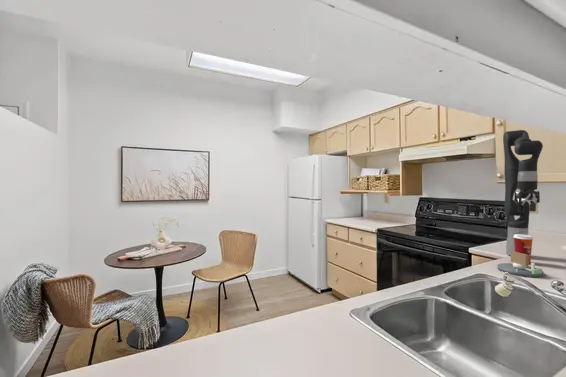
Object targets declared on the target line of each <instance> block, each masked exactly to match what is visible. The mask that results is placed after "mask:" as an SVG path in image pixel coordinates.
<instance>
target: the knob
mask: <svg viewBox="0 0 566 377" xmlns="http://www.w3.org/2000/svg"><path fill="white" fill-rule="evenodd" d="M510 263H512V264H513V267H514V268H517V269H525V270H529V271H532V269H535V268H536V267H535V266H536V263H535V262H530V264H529V255H526V254H522V253H518V252H511V256H510ZM526 266H530V267H531V269H528V268H526Z"/></svg>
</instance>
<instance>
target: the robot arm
mask: <svg viewBox="0 0 566 377" xmlns="http://www.w3.org/2000/svg"><path fill="white" fill-rule="evenodd" d="M502 141H503V142H502V143H503V152H504V184H505V186H504V187H505V188H504V189H505V193H504V213H505V215H507V216H510V217H511V216H512V217H513V216H514V217H515V216H516V217H518V218H516V219H514V220H510V221H508V222H507V238H506V245H505V246H506V247H505V248H506V253H507V254H508V255H507V254H506V255H507V256H509V255H510V256H509V257H511V252H515V246H514V237H513V236H514V235H515V234H524V235H529V224H530V213H531V212H536V210H537V204H538V203H539V204H540V202H541V201H540V200H541V199H540V198H541V197H540V191H537V189H538V182H539V181H538V162H539V157H540V155H541V153H542V150H543V147H544V145H543V143H542V142H541V141H540V140H533V139H530V136H529V133H528V132H527V130H524V129H517V130H510V131H505V132H504V133H503V138H502ZM512 147H514V148H513V149H512ZM513 150H514V152H513ZM514 153H515V154H516V155H518V156H530V155H531V156H530V158H525V159H522V160H520V159H519V158H518V157H517V156H516V155H515V154H514ZM517 190H519V191H517Z"/></svg>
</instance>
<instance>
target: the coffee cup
mask: <svg viewBox="0 0 566 377" xmlns="http://www.w3.org/2000/svg"><path fill="white" fill-rule="evenodd" d="M513 237H514V246H515V252H518V253H522V254H526V255H529V265H531V261H532V260H531V259H532V250H533V249H532V248H533V240H534V237H533V236H532V235H530V234H528V235H524V234H515V235H514V236H513Z"/></svg>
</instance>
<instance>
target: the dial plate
mask: <svg viewBox="0 0 566 377" xmlns="http://www.w3.org/2000/svg"><path fill="white" fill-rule="evenodd" d="M496 268H497V270H498V271H500V272H502V271H503V272H502V273H505V272H508V273H509V274H510V273H511V274H510V275H513V274H514V275H513V276H517V277H522V278H523V277H524V278H535V279H536V278H542V277H544V271H543V268H541V267H539V268H537V267H535V269H532V271H529V270H525V269H517V268H514V267H513V262H510V263H508V262H505V263H503V262H502V263H498V264H497V267H496ZM526 268H528V269H531V265H529V266H526ZM508 273H507V274H508ZM509 274H508V275H509Z"/></svg>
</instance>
